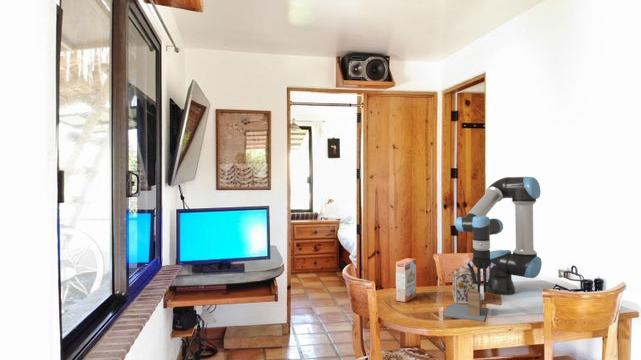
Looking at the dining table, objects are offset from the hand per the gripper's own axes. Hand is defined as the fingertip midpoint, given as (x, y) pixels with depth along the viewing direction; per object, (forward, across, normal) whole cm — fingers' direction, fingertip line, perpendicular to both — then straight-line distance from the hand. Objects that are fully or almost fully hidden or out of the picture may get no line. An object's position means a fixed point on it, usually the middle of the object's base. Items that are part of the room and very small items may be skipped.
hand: (482, 299), depth 190 cm
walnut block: (+7, -3, 0) cm, 8 cm away
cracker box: (+8, -39, +10) cm, 41 cm away
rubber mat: (+7, -7, 0) cm, 10 cm away
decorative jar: (+8, -10, +19) cm, 23 cm away
